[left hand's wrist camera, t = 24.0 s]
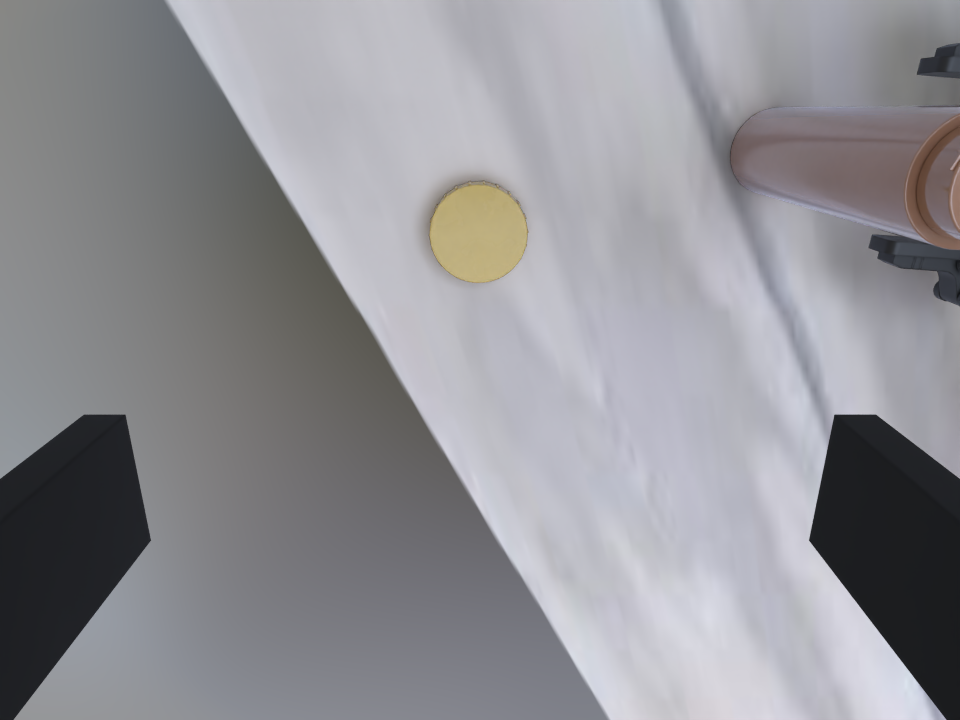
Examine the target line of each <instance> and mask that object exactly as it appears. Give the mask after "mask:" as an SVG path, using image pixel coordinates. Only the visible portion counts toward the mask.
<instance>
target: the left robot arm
mask: <svg viewBox="0 0 960 720" xmlns="http://www.w3.org/2000/svg"><path fill="white" fill-rule="evenodd" d="M150 541H151V539H150V534H149V529H148V524H147V519H146V514H145V509H144V504H143V499H142V494H141V489H140V484H139V479H138V475H137V469H136V465H135V460H134V455H133V450H132V445H131V440H130V435H129V430H128V425H127V420H126V415H83V416H82V417H80V418H79V419H78V420H76V421H75V422H74V423H73V424H71V425H70V426H69V427H67V428H66V429H65V430H64V431H62V432H61V433H60V434H58V435H57V436H56V437H54V438H53V439H52V440H50V441H49V442H48V443H46V444H45V445H44V446H43V447H41V448H40V449H39V450H37V451H36V452H35V453H33V454H32V455H31V456H30V457H28V458H27V459H26V460H24V461H23V462H22V463H20V464H19V465H18V466H17V467H15V468H14V469H13V470H11V471H10V472H9V473H7V474H6V475H5V476H3V477H2V478H1V479H0V720H14V718H15V717H16V716H17V714H18V713H19V712H20V710H21V709H22V708H23V706H24V705H25V704H26V703H27V701H28V700H29V699H30V697H31V696H32V695H33V694H34V692H35V691H36V690H37V688H38V687H39V686H40V684H41V683H42V682H43V680H44V679H45V678H46V677H47V675H48V674H49V673H50V671H51V670H52V669H53V667H54V666H55V665H56V663H57V662H58V661H59V660H60V658H61V657H62V656H63V654H64V653H65V652H66V650H67V649H68V648H69V647H70V645H71V644H72V643H73V641H74V640H75V639H76V637H77V636H78V635H79V634H80V632H81V631H82V630H83V628H84V627H85V626H86V624H87V623H88V622H89V620H90V619H91V618H92V617H93V615H94V614H95V613H96V611H97V610H98V609H99V607H100V606H101V605H102V603H103V602H104V601H105V600H106V598H107V597H108V596H109V594H110V593H111V592H112V590H113V589H114V588H115V587H116V585H117V584H118V583H119V581H120V580H121V579H122V577H123V576H124V575H125V573H126V572H127V571H128V570H129V568H130V567H131V566H132V564H133V563H134V562H135V560H136V559H137V558H138V557H139V555H140V554H141V553H142V551H143V550H144V549H145V547H146V546H147V545H148V543H149V542H150ZM809 541H810V542H811V544H812V545H813V546H814V547H815V549H816V550H817V551H818V553H819V554H820V555H821V557H822V558H823V559H824V560H825V562H826V563H827V564H828V566H829V567H830V568H831V570H832V571H833V572H834V574H835V575H836V576H837V577H838V579H839V580H840V581H841V583H842V584H843V585H844V587H845V588H846V589H847V590H848V592H849V593H850V594H851V596H852V597H853V598H854V600H855V601H856V602H857V604H858V605H859V606H860V607H861V609H862V610H863V611H864V613H865V614H866V615H867V617H868V618H869V619H870V620H871V622H872V623H873V624H874V626H875V627H876V628H877V630H878V631H879V632H880V634H881V635H882V636H883V637H884V639H885V640H886V641H887V643H888V644H889V645H890V647H891V648H892V649H893V650H894V652H895V653H896V654H897V656H898V657H899V658H900V660H901V661H902V662H903V664H904V665H905V666H906V667H907V669H908V670H909V671H910V673H911V674H912V675H913V677H914V678H915V679H916V680H917V682H918V683H919V684H920V686H921V687H922V688H923V690H924V691H925V692H926V694H927V695H928V696H929V697H930V699H931V700H932V701H933V703H934V704H935V705H936V707H937V708H938V709H939V710H940V712H941V713H942V714H943V716H944V717H945V718H946V720H960V479H959V478H958V477H957V476H955V475H954V474H953V473H951V472H950V471H949V470H947V469H946V468H945V467H943V466H942V465H941V464H940V463H938V462H937V461H936V460H934V459H933V458H932V457H930V456H929V455H928V454H927V453H925V452H924V451H923V450H921V449H920V448H919V447H917V446H916V445H915V444H914V443H912V442H911V441H910V440H908V439H907V438H906V437H904V436H903V435H902V434H900V433H899V432H898V431H897V430H895V429H894V428H893V427H891V426H890V425H889V424H887V423H886V422H885V421H884V420H882V419H881V418H880V417H878V416H877V415H834V420H833V425H832V430H831V435H830V440H829V445H828V450H827V455H826V460H825V465H824V469H823V474H822V479H821V484H820V489H819V494H818V499H817V504H816V509H815V514H814V519H813V524H812V529H811V534H810V539H809Z"/></svg>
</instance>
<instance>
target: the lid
mask: <svg viewBox="0 0 960 720" xmlns="http://www.w3.org/2000/svg"><path fill="white" fill-rule="evenodd" d="M435 209H436V210H435V213H434V215H433V217H432V218H431V220H430V223H431V225H430V233H429V237H430V243H431V247H432V250H433V252H434V255H435V257H436V259H437V260H438V262H439V263H440V264H441V266H442V267H443V268H444V269H445V270H446V271H447V272H449V273H450V274H451V275H453V276H455V277H457V278H459V279H461V280H464V281H467V282H473V283H484V282H490V281H493V280H496V279H499V278H501V277H503V276H504V275H506V274H507V273H509V272H510V271H511V270H512V269H513V268H514V267H515V266H516V265H517V264H518V262H519V261H520V259H521V257H522V255H523V253H524V250H525V248H526V246H527V244H526V243H527V233H528V229H527V225H526V220H525V219H526V216H525V214H523V212H522V210H521V208H520V203H519V201H516V200H515V198H514V197H513V196H512V195H511V193H510V191H508V192H507V191H506V190H505V189H503V188H502V187H500V186H498V184H496V185H495V184H492V183H488V182H485V180H483V182H478V181H477V182H471V181H469V183H465V184H462V185H460V186H456V187H455V188H454V189H453V190H451V191H450V192H449V193H447V194H446V193H445V195H444V197H443V199H442V200H441V201H440V203H439V205H438V204H437V205H436V207H435Z"/></svg>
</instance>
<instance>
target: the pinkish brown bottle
mask: <svg viewBox="0 0 960 720" xmlns="http://www.w3.org/2000/svg"><path fill="white" fill-rule="evenodd" d="M730 159H731V166H732V170H733V173H734V175H735V177H736V179H737V180H738V181H739V182H740V184H741V185H743V186H744V187H745V188H746V189H748V190H750V191H752V192H755V193H758V194H762V195H765V196H768V197H772V198H775V199H778V200H782V201H785V202H789V203H792V204H795V205H799V206H802V207H805V208H809V209H812V210H816V211H819V212H822V213H826V214H829V215H832V216H836V217H839V218H843V219H846V220H849V221H853V222H856V223H859V224H863V225H866V226H870V227H873V228H876V229H880V230H883V231H886V232H890V233H893V234H897V235H900V236H903V237H907V238H910V239H913V240H917V241H920V242H923V243H927V244H930V245H934V246H937V247H940V248H944V249H950V250H960V105H929V106H847V107H776V108H769V109H766V110H763V111H760V112H759V113H757V114H755V115H753V116H752V117H751V118H749V119H748V120H747V121H746V122H745V123H744V124H743V125H742V127H741V128H740V129H739V131H738V133H737V134H736V136H735V138H734V141H733V144H732V148H731V158H730Z"/></svg>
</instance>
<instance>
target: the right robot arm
mask: <svg viewBox="0 0 960 720" xmlns="http://www.w3.org/2000/svg"><path fill="white" fill-rule="evenodd" d="M917 75H925V76H937V77H949V78H960V43H956V44H950V45H946V46H943V47H940V48H937V50H936V53H935V57H931V58H923V59H921V61H920V65H919V68H918V72H917ZM869 248H870V249H873V250H876V251H879V254H878V259H880V260H881V261H883V262H885V263H888V264H890V265H893V266H896V267H899V268H904V269H917V270H930V271H937V272H938V275H939V281H938V282H937V283H936V284H935V286H934V290H933V292H934V295H935V296H936V297H937V298H939V299H941V300H944V301H949V302H951V303H954V304H956V305H959V306H960V250H950V249H944V248H940V247H937V246H934V245H930V244H927V243H923V242H920V241H917V240H913V239H910V238H907V237H900V236H887V235H872V237H871V241H870V244H869Z"/></svg>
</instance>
